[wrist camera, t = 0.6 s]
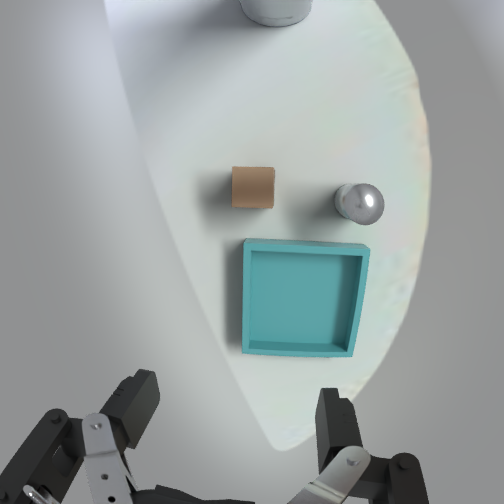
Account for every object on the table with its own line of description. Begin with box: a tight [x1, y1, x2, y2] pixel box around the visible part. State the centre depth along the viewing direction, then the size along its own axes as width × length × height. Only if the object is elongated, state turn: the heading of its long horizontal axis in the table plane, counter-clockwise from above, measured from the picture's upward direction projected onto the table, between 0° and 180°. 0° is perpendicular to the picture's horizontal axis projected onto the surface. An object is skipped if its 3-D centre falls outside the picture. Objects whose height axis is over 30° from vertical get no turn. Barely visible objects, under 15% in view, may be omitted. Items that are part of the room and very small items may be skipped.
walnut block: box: [232, 167, 275, 208], centre depth 30 cm, size 4×4×5 cm
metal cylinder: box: [335, 184, 384, 225], centre depth 28 cm, size 4×4×6 cm
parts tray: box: [242, 238, 370, 357], centre depth 33 cm, size 14×14×3 cm
